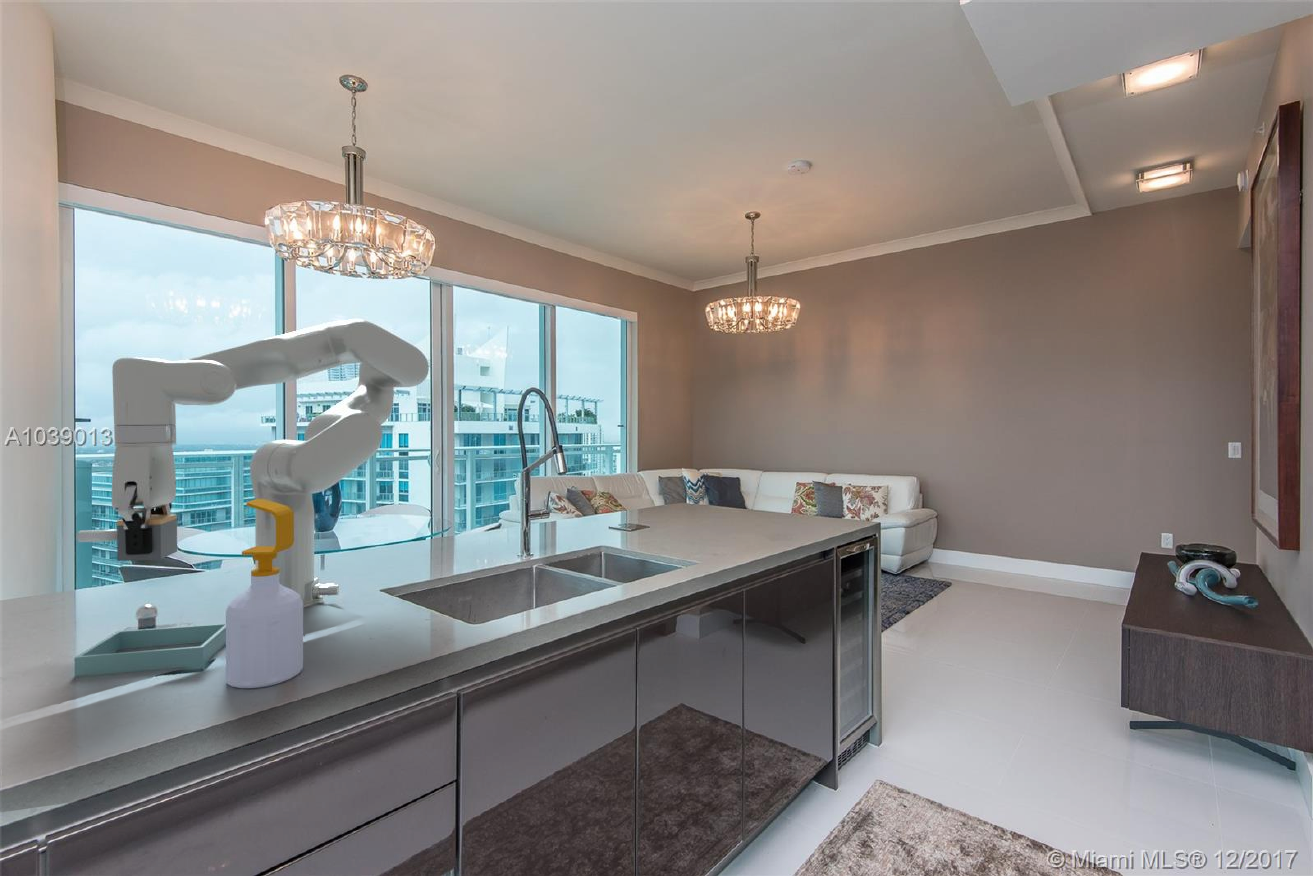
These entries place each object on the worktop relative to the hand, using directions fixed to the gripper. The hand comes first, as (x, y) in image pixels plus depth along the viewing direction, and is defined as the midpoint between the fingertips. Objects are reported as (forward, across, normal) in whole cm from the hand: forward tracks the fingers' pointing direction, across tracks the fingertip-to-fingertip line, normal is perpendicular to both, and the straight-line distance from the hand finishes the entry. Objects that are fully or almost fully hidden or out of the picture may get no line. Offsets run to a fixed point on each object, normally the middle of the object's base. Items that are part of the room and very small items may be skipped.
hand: (149, 548), depth 97 cm
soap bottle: (+15, +20, +22) cm, 33 cm away
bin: (+15, +11, +6) cm, 19 cm away
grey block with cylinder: (+1, 0, -3) cm, 3 cm away
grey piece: (+15, 0, 0) cm, 15 cm away
